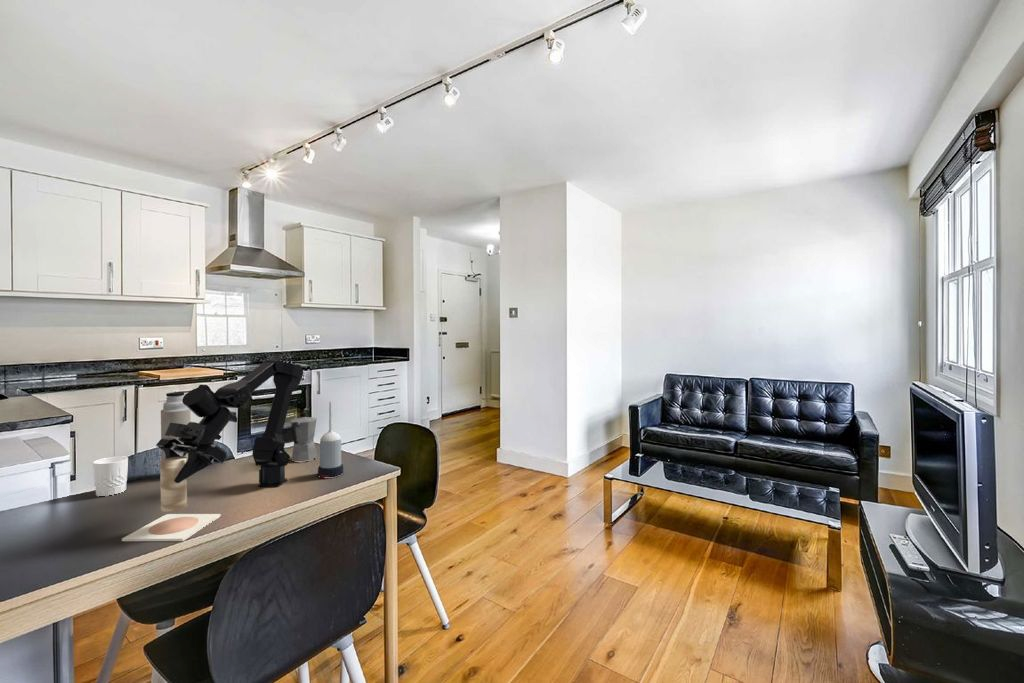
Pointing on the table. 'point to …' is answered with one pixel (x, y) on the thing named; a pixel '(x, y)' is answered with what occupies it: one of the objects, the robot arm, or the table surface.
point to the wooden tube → (172, 484)
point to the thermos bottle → (174, 415)
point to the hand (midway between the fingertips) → (168, 481)
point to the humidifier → (330, 452)
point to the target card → (172, 527)
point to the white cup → (110, 475)
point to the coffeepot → (303, 438)
